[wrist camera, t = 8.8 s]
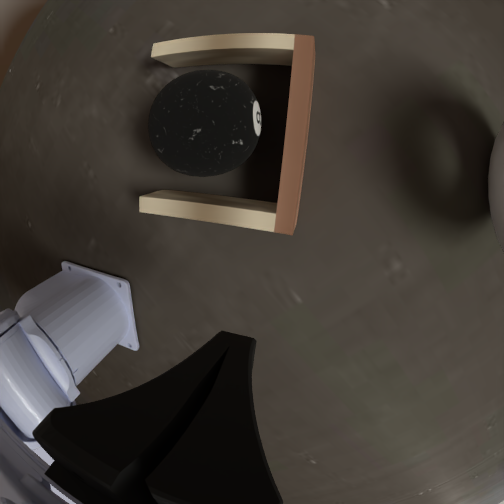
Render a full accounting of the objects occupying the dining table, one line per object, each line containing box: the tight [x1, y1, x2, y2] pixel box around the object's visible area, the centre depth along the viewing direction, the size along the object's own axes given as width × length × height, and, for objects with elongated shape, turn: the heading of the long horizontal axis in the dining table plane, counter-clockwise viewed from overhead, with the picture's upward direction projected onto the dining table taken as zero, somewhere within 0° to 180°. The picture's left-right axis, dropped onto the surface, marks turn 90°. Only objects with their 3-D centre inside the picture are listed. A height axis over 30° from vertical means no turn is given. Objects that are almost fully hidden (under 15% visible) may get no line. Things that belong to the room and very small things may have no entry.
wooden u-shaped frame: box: [139, 33, 315, 235], centre depth 15 cm, size 10×11×3 cm
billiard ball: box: [148, 70, 261, 177], centre depth 14 cm, size 6×6×6 cm
